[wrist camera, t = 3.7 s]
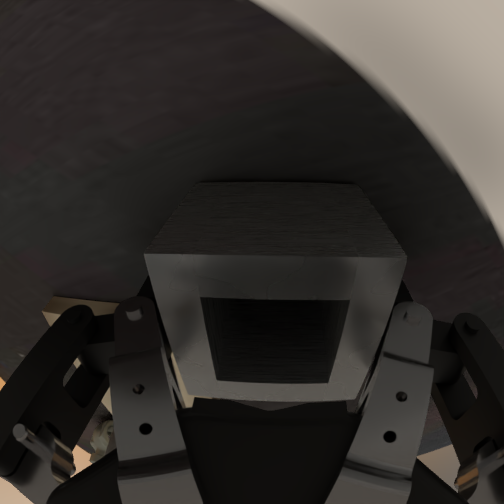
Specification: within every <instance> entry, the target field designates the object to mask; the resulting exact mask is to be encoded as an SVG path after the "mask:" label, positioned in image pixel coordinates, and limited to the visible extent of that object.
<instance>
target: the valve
mask: <svg viewBox="0 0 504 504" xmlns="http://www.w3.org/2000/svg"><path fill="white" fill-rule="evenodd" d="M113 429H114V425H113V420H107V421H105V422H103V423H101V424H99V425H98V426H97V427H96V428H95V430H94V432H93V436H92V439H91V442H90V444H91V445H92V446H93V448H94V449H95V450H96V452H95V453H92V454H91V457H90V462H91V463H95V462H96V461H98V460H99V459H101V458H102V457H104V455H105V452H106V449H107V446H108V443H109V438H108V435H109V436H110V437H111V434H112V431H113Z"/></svg>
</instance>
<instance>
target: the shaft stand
mask: <svg viewBox="0 0 504 504" xmlns="http://www.w3.org/2000/svg"><path fill="white" fill-rule="evenodd" d="M80 304H82V305H87V306H89V307H90V308H91V309H92V311H93V313H94V315H95V316H98V315H105V314H112V313H114V311H115V309H116V307H117V306H118V305H119V304H120V303H110V302H100V301H90V300H81V299H72V298H64V297H56V296H53V298H52V299H51V300H50V301H49V303H48V304H47V305H46V307H45V308H44V309H43V311H42V312H43V314H44V316H45V318H46V320H47V321H48V323H49V325H50V327H51V326H52V324H53V323H54V322H55V321H56V320H57V319H58V317H59V316H60V315H61V314H62V313H63V312H64V311H65V310H67V309H68V308H70V307H72V306H75V305H80ZM171 356H172V359H173V363H174V367H175V371H176V375H177V378H178V382H179V386H180V389H181V393H182V397H183V400H184V403H185V406H186V408H187V407H192V405H193V401H194V397H200V398H209V399H219V400H220V398H213V397H204V396H195V395H188V393H187V390H186V388H185V385H184V382H183V380H182V377H181V374H180V372H179V369H178V366H177V363H176V360H175V358H174V355H173V352H172V354H171ZM80 364H81V363H80V361H79V360H78V358H77V359H76V360H75V361H74V365H75V366H76V368H78V366H79V365H80ZM101 402H102V403H103V404H104V405H105V407H106V408H107V409H108V410H109V411H110V413H111V414H112V407H111V396H110V387H109V389H108V390H107V392H106V394H105V395H104V397H103V399H102V400H101ZM115 448H117V447H116V440H115V433H114V429H113V431H112V434H111V437H110V440H109V443H108V446H107V449H106V452H105V455H106V454H108V453H109V452H111V451H112V450H114V449H115ZM105 455H104V456H105Z"/></svg>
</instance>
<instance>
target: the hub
mask: <svg viewBox="0 0 504 504" xmlns="http://www.w3.org/2000/svg"><path fill="white" fill-rule="evenodd" d="M144 257H145V261H146V265H147V269H148V273H149V277H150V280H151V284H152V287H153V291H154V295H155V298H156V302H157V305H158V308H159V312H160V315H161V318H162V321H163V325H164V328H165V331H166V334H167V337H168V340H169V343H170V346H171V349H172V352H173V355H174V358H175V360H176V363H177V366H178V369H179V372H180V374H181V377H182V380H183V382H184V385H185V388H186V390H187V393H188V395H195V396H204V397H213V398H224V399H237V400H254V401H334V400H350V399H355V398H356V396H357V394H358V392H359V390H360V388H361V385H362V383H363V381H364V379H365V377H366V374H367V372H368V370H369V367H370V365H371V363H372V360H373V358H374V356H375V353H376V351H377V348H378V346H379V343H380V341H381V338H382V335H383V333H384V330H385V327H386V325H387V322H388V319H389V316H390V313H391V311H392V308H393V305H394V302H395V299H396V296H397V292H398V289H399V286H400V283H401V280H402V276H403V273H404V269H405V266H406V262H407V256H406V254H405V253H404V251H403V250H402V248H401V246H400V245H399V243H398V242H397V240H396V239H395V237H394V236H393V234H392V233H391V231H390V230H389V228H388V227H387V225H386V224H385V222H384V221H383V219H382V218H381V216H380V215H379V214H378V212H377V211H376V209H375V208H374V206H373V205H372V204H371V202H370V201H369V199H368V198H367V197H366V195H365V194H364V193H363V191H362V190H361V189H360V187H359V186H358V185H353V184H333V183H306V182H211V183H196V184H195V185H194V186H193V188H192V189H191V190H190V191H189V193H188V194H187V195H186V196H185V198H184V199H183V200H182V202H181V203H180V204H179V206H178V207H177V208H176V210H175V211H174V212H173V214H172V215H171V216H170V218H169V219H168V220H167V222H166V223H165V224H164V226H163V227H162V228H161V230H160V231H159V233H158V234H157V235H156V237H155V238H154V240H153V241H152V242H151V244H150V245H149V247H148V248H147V249H146V251H145V252H144Z"/></svg>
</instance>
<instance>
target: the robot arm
mask: <svg viewBox="0 0 504 504" xmlns="http://www.w3.org/2000/svg"><path fill="white" fill-rule="evenodd" d="M171 354H172V349H171V346H170V343H169V340H168V337H167V334H166V331H165V328H164V325H163V321H162V318H161V315H160V312H159V308H158V305H157V302H156V298H155V295H154V291H153V287H152V284H151V280H150V277H149V275H148V277H147V279H146V281H145V282H144V284H143V286H142V287H141V289H140V291H139V293H138V294H137V296H135V297H131V298H128V299H126V300H124V301H122V302H121V303H120V304H119V305H118V306H117V307H116V309H115V311H114V313H112V314H105V315H98V316H95V315H94V313H93V311H92V309H91V308H90V307H89V306H87V305H82V304H80V305H75V306H72V307H70V308H68V309H67V310H65V311H64V312H63V313H62V314H61V315H60V316H59V317H58V319H57V320H56V321H55V322H54V323H53V324H52V326H51V327H50V328H49V329H48V330H47V331H46V333H45V334H44V335H43V336H42V337H41V339H40V340H39V341H38V342H37V343H36V345H35V346H34V347H33V348H32V350H31V351H30V352H29V353H28V355H27V356H26V357H25V358H24V360H23V361H22V362H21V364H20V365H19V366H18V368H17V369H16V370H15V371H14V373H13V374H12V375H11V377H10V378H9V380H8V381H7V382H6V384H5V385H4V386H3V388H2V389H1V391H0V477H1V478H3V479H5V480H6V481H8V482H10V483H11V484H12V485H13V486H14V487H16V488H17V489H18V490H19V491H20V492H21V493H22V494H23V495H24V496H26V497H27V498H28V499H29V500H30V501H32V502H33V503H34V504H504V350H503V349H502V347H501V346H500V345H499V343H498V342H497V340H496V339H495V337H494V336H493V334H492V333H491V332H490V330H489V329H488V327H487V326H486V325H485V323H484V322H483V321H482V320H481V319H480V318H478V317H477V316H475V315H473V314H470V313H461V314H459V315H457V316H456V318H455V319H454V321H453V323H452V324H451V323H446V322H441V321H436V320H433V318H432V315H431V313H430V312H429V311H428V310H427V309H426V308H425V307H424V306H422V305H421V304H418V303H415V302H413V300H412V298H411V296H410V293H409V291H408V289H407V287H406V285H405V284H404V282H403V280H401V283H400V286H399V289H398V292H397V296H396V299H395V302H394V305H393V308H392V311H391V313H390V316H389V319H388V322H387V325H386V327H385V330H384V333H383V335H382V338H381V341H380V343H379V346H378V348H377V351H376V353H375V359H374V361H373V364H372V367H371V370H370V373H369V375H368V378H367V381H366V384H365V387H364V389H363V392H362V395H361V397H360V400H359V403H358V405H357V407H356V410H355V412H354V413H353V412H348V411H347V405H346V401H342V402H320V403H306V404H302V405H298V406H293V407H289V408H284V409H279V410H274V411H267V410H262V409H259V408H255V407H251V406H248V405H244V404H241V403H237V402H234V401H231V400H219V399H209V398H200V397H194V401H193V405H192V407H187V408H186V406H185V403H184V400H183V397H182V393H181V389H180V386H179V382H178V378H177V375H176V371H175V367H174V363H173V359H172V356H171ZM77 358H78V360H79V361H80V363H81V364H80V365H79V366H78V368H77V369H76V371H75V372H74V374H73V375H72V377H71V378H70V379H69V381H68V382H67V384H66V385H65V387H63V378H64V376H65V374H66V373H67V371H68V370H69V368H70V367H71V365H72V364H73V363H74V361H75V360H76V359H77ZM466 369H467V371H468V372H469V374H470V376H471V378H472V380H473V381H474V383H475V385H476V387H477V390H478V396H477V400H476V398H475V396H474V394H473V392H472V390H471V388H470V387H469V385H468V383H467V381H466V379H465V377H464V375H463V373H464V372H465V370H466ZM109 387H110V396H111V407H112V416H113V425H114V433H115V440H116V447H117V448H115V449H114V450H112V451H111V452H109V453H108V454H106V455H105V456H104V457H102V458H101V459H99V460H98V461H96V462H95V463H93V464H92V465H90V466H88V467H87V468H85V469H84V470H82V471H81V472H79V473H78V474H76V475H74V476H73V477H71V478H70V476H71V475H73V474H74V473H75V471H76V467H75V464H74V463H73V462H74V458H73V454H72V451H73V449H74V447H75V446H76V444H77V442H78V440H79V438H80V437H81V435H82V433H83V431H84V430H85V428H86V426H87V424H88V423H89V421H90V419H91V417H92V416H93V414H94V412H95V411H96V409H97V407H98V405H99V404H100V402H101V400H102V399H103V397H104V395H105V394H106V392H107V390H108V389H109ZM430 394H431V395H432V397H433V400H434V402H435V404H436V406H437V408H438V411H439V413H440V415H441V418H442V420H443V422H444V425H445V427H446V429H447V432H448V434H449V437H450V439H451V442H452V444H453V447H454V449H455V452H456V454H457V457H458V460H459V462H460V467H459V470H458V474H457V478H456V479H455V482H454V486H455V488H456V489H458V493H457V492H456V491H455V490H453V489H452V488H451V487H450V486H449V485H448V484H446V483H445V482H444V481H443V480H442V479H441V478H439V477H438V476H437V475H436V474H435V473H434V472H432V471H431V470H430V469H429V468H428V467H426V465H424V464H423V463H422V462H421V461H420V460H419V459H417V453H418V449H419V446H420V442H421V438H422V434H423V429H424V425H425V420H426V416H427V411H428V405H429V400H430Z"/></svg>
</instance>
